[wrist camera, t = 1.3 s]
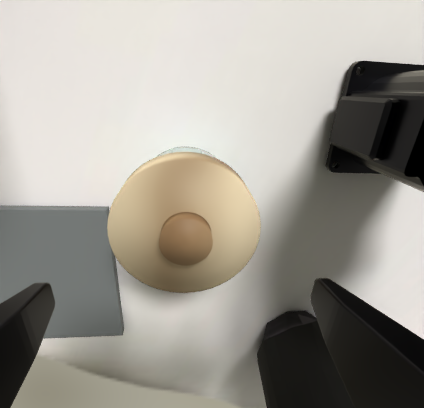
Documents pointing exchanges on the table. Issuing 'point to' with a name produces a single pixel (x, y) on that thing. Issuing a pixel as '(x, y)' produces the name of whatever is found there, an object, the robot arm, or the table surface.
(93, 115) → the table surface
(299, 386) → the portable speaker
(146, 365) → the table surface
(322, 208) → the table surface
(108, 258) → the mat
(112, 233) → the lid
